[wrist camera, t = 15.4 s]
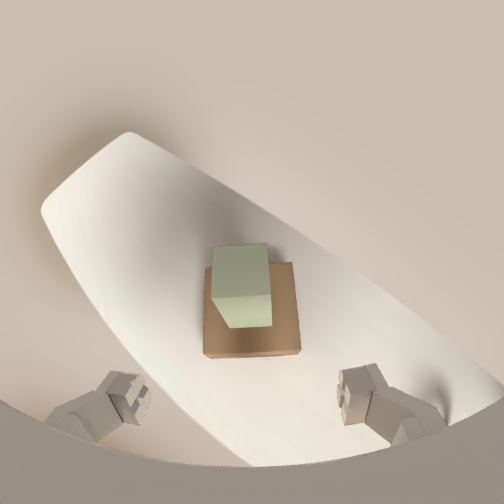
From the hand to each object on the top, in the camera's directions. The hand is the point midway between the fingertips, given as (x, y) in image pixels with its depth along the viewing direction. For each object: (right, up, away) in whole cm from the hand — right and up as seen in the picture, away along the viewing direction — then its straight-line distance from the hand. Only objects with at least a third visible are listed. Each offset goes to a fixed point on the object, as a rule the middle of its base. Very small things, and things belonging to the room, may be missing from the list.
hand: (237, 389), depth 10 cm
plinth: (+1, -1, +19) cm, 19 cm away
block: (0, 0, +16) cm, 16 cm away
